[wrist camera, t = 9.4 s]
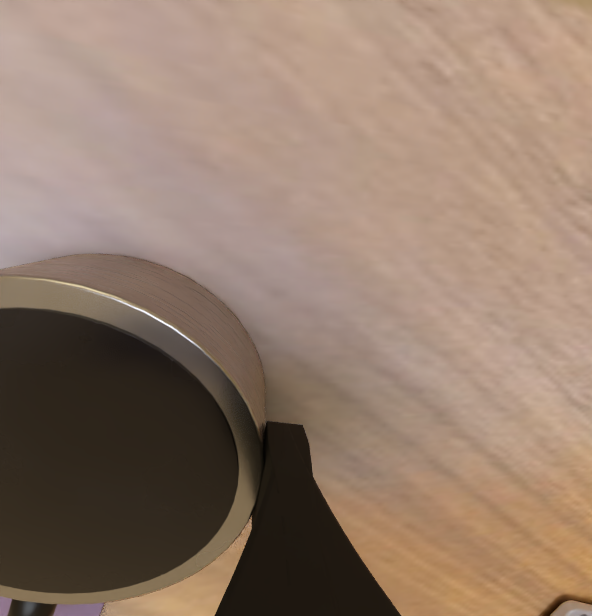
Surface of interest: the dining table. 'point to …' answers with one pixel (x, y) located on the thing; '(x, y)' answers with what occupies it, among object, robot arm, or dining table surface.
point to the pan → (120, 430)
